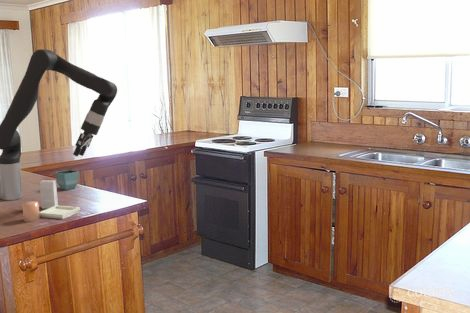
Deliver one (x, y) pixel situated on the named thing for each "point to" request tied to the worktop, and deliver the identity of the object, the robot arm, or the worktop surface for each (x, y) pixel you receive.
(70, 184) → the flower pot
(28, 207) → the orange-pink rounded cylinder
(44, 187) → the skincare box
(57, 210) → the tray
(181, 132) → the worktop surface
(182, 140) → the worktop surface
